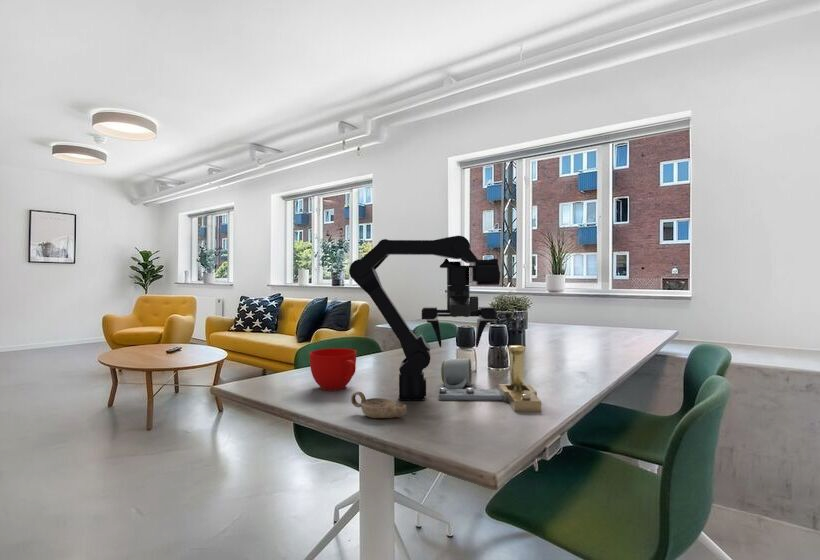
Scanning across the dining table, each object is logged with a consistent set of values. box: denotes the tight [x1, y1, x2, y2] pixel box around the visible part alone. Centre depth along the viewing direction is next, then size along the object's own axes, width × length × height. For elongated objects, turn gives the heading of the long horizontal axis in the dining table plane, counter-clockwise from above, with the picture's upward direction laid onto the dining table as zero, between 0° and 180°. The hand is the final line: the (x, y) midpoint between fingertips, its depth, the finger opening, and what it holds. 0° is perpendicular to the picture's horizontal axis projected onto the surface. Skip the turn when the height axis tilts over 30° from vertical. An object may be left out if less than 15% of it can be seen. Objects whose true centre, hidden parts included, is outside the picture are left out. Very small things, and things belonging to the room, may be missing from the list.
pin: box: [508, 344, 526, 391], centre depth 111 cm, size 4×4×13 cm
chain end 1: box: [438, 386, 526, 403], centre depth 111 cm, size 24×8×2 cm, turn 87°
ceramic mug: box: [440, 357, 473, 389], centre depth 123 cm, size 11×8×8 cm
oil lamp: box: [350, 391, 407, 419], centre depth 97 cm, size 13×8×5 cm, turn 66°
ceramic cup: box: [309, 347, 357, 391], centre depth 120 cm, size 13×17×10 cm
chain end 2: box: [498, 383, 542, 413], centre depth 107 cm, size 8×16×3 cm, turn 177°
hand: (458, 346), depth 111 cm, fingers open, 9 cm apart
